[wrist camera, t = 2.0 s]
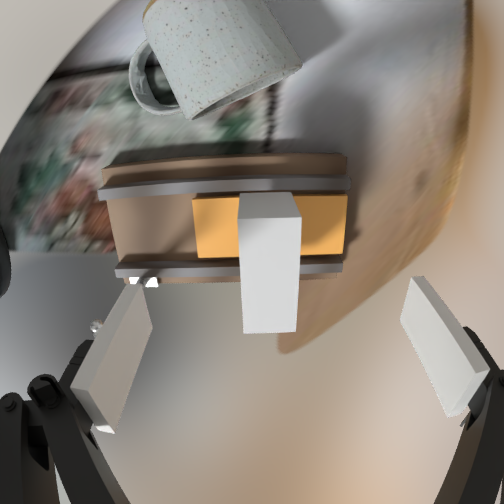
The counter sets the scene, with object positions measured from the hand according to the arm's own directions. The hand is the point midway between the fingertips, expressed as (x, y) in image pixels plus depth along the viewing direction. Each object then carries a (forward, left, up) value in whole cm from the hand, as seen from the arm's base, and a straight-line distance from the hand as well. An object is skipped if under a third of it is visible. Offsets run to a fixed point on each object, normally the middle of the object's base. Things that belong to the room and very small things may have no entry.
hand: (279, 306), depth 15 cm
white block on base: (0, 0, -10) cm, 10 cm away
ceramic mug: (-4, +12, -12) cm, 17 cm away
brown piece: (-3, 0, -11) cm, 12 cm away
